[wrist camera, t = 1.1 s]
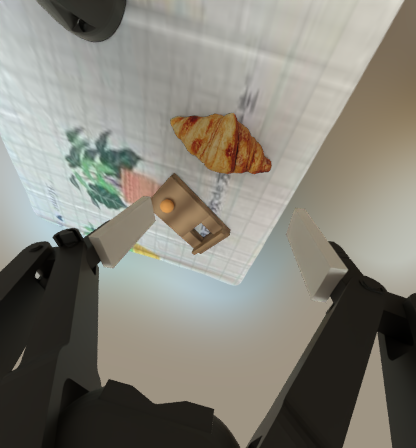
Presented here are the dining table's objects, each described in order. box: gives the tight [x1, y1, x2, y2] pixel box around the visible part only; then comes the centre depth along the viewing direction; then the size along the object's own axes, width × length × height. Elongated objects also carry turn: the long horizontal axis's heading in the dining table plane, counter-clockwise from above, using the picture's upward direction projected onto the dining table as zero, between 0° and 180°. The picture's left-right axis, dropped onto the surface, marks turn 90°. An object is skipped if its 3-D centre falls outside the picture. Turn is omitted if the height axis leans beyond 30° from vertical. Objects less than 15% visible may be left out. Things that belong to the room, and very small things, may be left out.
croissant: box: [170, 113, 272, 174], centre depth 30 cm, size 21×10×8 cm, turn 70°
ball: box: [160, 199, 174, 213], centre depth 37 cm, size 3×3×3 cm
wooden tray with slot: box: [151, 173, 230, 255], centre depth 41 cm, size 20×11×4 cm, turn 44°
